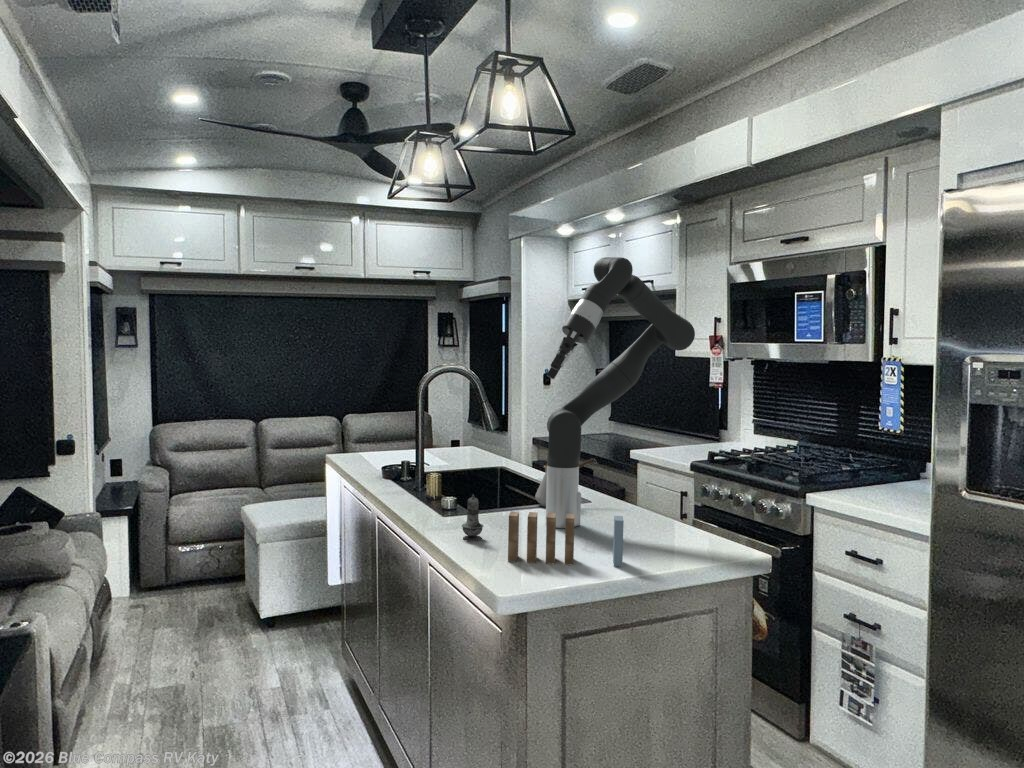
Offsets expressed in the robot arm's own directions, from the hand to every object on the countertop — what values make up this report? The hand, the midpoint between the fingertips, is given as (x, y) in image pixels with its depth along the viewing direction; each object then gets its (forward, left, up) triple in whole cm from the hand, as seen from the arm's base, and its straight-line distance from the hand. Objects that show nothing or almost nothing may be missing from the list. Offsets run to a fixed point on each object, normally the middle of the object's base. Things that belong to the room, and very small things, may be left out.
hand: (551, 372), depth 187 cm
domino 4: (+1, +13, -45) cm, 46 cm away
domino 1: (+12, +6, -45) cm, 47 cm away
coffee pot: (-30, -46, -45) cm, 71 cm away
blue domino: (-9, +18, -45) cm, 49 cm away
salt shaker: (+15, -15, -45) cm, 50 cm away
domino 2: (+8, +8, -45) cm, 46 cm away
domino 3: (+5, +10, -45) cm, 46 cm away
